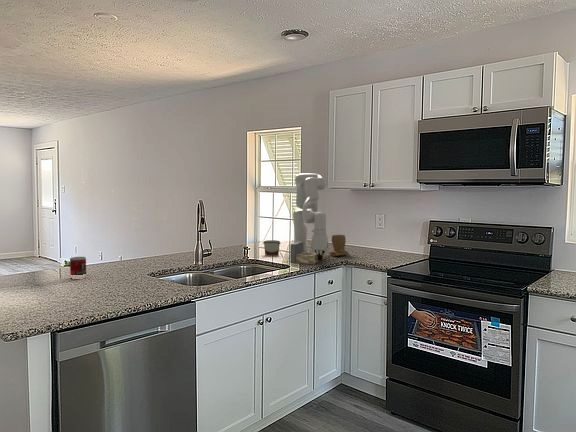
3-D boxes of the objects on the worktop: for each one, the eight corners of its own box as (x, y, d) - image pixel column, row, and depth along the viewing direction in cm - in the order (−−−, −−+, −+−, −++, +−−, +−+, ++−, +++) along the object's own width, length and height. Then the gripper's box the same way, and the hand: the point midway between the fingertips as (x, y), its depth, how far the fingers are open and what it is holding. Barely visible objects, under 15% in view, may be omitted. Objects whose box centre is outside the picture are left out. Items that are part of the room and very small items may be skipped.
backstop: (299, 259, 299) (299, 241, 298) (303, 259, 297) (303, 241, 297) (290, 262, 286) (290, 244, 285) (294, 263, 285) (294, 244, 284)
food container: (281, 254, 321) (281, 240, 320) (280, 255, 315) (280, 241, 314) (264, 253, 322) (264, 240, 321) (263, 255, 316) (263, 241, 315)
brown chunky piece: (338, 253, 326) (338, 232, 325) (351, 255, 317) (351, 234, 316) (324, 255, 316) (324, 234, 314) (337, 257, 307) (338, 235, 306)
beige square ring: (302, 259, 297) (302, 252, 296) (319, 261, 291) (319, 253, 291) (295, 262, 286) (295, 254, 285) (312, 264, 281) (312, 256, 280)
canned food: (76, 280, 232) (75, 259, 231) (67, 278, 236) (66, 258, 235) (89, 278, 238) (89, 257, 237) (80, 276, 242) (80, 256, 242)
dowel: (319, 259, 300) (319, 241, 299) (325, 259, 298) (325, 241, 297) (317, 260, 296) (317, 242, 296) (323, 260, 295) (323, 242, 294)
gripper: (306, 232, 283) (306, 260, 284) (329, 233, 277) (329, 262, 278) (311, 231, 290) (311, 259, 291) (333, 232, 284) (332, 260, 285)
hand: (319, 260), depth 285 cm, fingers closed
